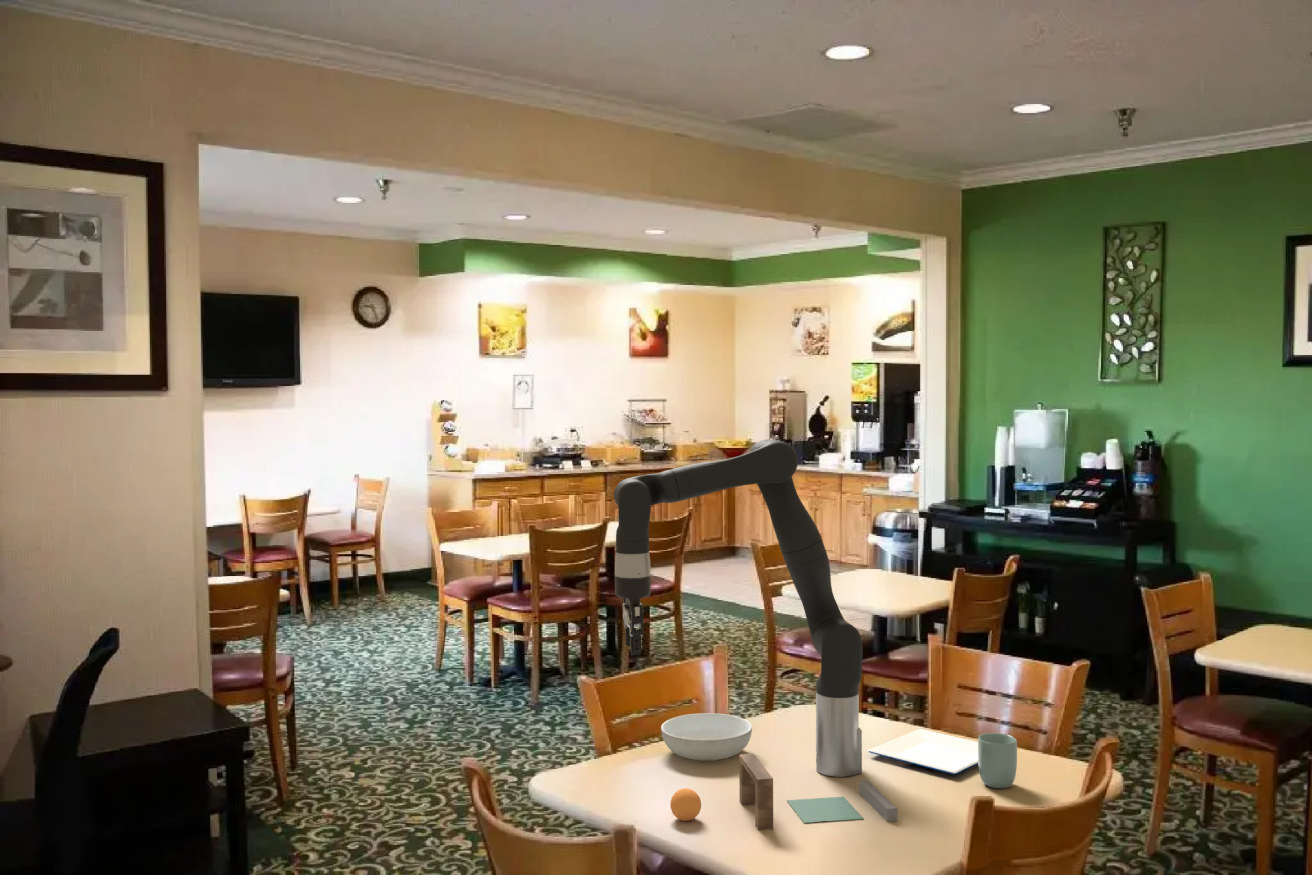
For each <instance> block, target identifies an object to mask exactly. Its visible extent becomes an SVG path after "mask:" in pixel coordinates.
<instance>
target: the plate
mask: <svg viewBox="0 0 1312 875" xmlns="http://www.w3.org/2000/svg"><path fill="white" fill-rule="evenodd" d="M867 752H868V753H870V754H874V755H879V756H881V757H885V758H888V759H893V760H897V761H901V762H905V763H908V764H913V765H916V766H920V767H924V768H926V769H927V768H928V769H932V770H935V771H939V772H943V773H947V774H950V775H951V774H952V775H957V774H959V773H960V772H963V771H965V770H967V769H969V768H971V767H973V766H975V765H978V741H975V740H970V739H965V738H961V737H958V736H952V735H948V734H943V733H939V732H935V731H931V730H928V729H922V728H919V729H916V730H913V731H910V732H907V733H906V734H903V735H901V736H898V737H896V738H894V739H891V740H888V741H886V742H883V743H882V744H879V745H876V746H874V747H871V748H869V749H867Z"/></svg>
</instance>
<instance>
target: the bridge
mask: <svg viewBox="0 0 1312 875" xmlns="http://www.w3.org/2000/svg"><path fill="white" fill-rule="evenodd" d="M738 754H739V753H738ZM738 758H739V759H738V760H739V761H738V762H739V764H738V765H739V770H738V771H739V772H738V773H739V778H738V780H739V781H738V782H739V803H740V805H741V804H742V805H741V806H749V805H748V804H754V805H755V806H754V808H755V809H754V813H755V816H754V817H755V818H754V819H755V823H754V825H755V828H756V827H757V828H756V830H757V831H762V830H773V829H774V778H773V776H772V775H771V774H770V773H769V771H768V770H767V768H766V767H765V766H764V765H763V763H762V762H761V761H760V760H759V758H758V757H757V756H756V755H755V753H742V754H739V756H738Z"/></svg>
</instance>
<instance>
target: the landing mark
mask: <svg viewBox="0 0 1312 875" xmlns="http://www.w3.org/2000/svg"><path fill="white" fill-rule="evenodd" d="M786 802H787V803H788V805H789V804H790V805H789V806H790V807H791V809H792V808H793V809H794V810H793V809H792V810H793V811H794V813H795V814H796V813H797V814H796V816H798V818H799V817H800V818H799V819H800V821H801V822H802V821H803V822H804V823H806V824H814V823H813V822H819V821H820V823H822V822H821V821H834V822H846V821H860V820H861V819H862V820H865V819H864V817H863V816H862V815H861V814H860V812H858V810H857V809H856V808H855V807H854V806H853V805H852V803H850V802H849V801H848V800H847V799H846V797H845V796H832V797H817V798H806V799H805V798H803V799H788V800H786ZM803 822H802V823H803ZM804 823H803V824H804Z"/></svg>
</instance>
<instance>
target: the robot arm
mask: <svg viewBox="0 0 1312 875" xmlns="http://www.w3.org/2000/svg"><path fill="white" fill-rule="evenodd" d="M798 457H799V456H798V454H797V451H795V449H794V448H793V447H792V446H791V445H790V444H788V443H786V442H784V441H781V440H778V439H777V440H776V439H762V440H760V441H757V442H756V443H754V444H753V446H752V447H751V448H750V451H749V452H747V453H745V454H741V455H738V456H734V457H731V458H726V459H720V460H714V461H705V462H699V463H698V462H697V463H693V464H688V465H682V466H680V467H674V468H671V469H666V470H664V471H660V472H657V473H649V474H643V475H642V474H641V475H638V476H636V475H635V476H632V477H628V478H625V479H623V480H621V481H620V482H618V483H617V484H616V486H615V487H614V491H613V500H614V502H615V504H616V505H617V508H618V509H617V510H618V512H617V513H618V527H617V528H616V531H615V559H614V594H615V596H616V597H617V598H622V601H623V602H622V622H623V626H624V629H625V632H624V633H625V635H624V636H625V637H624V638H625V639H624V640H625V643H624V644H625V645H626V647H630V654H631V655H633V656H635V655H637V656H638V655H639V656H640V655H641V654H642V637H643V636H644V633H645V630H644V623H645V622H644V610H645V609H644V605H642V603H641V599H642V598H648V597H649V596H650V595H651V585H652V583H651V582H652V580H651V575H652V574H651V558H650V534H649V533H650V532H649V529H650V528H649V525H650V521H651V520H650V518H651V512H652V510H651V509H652V506H654V505H659V504H672V503H678V502H683V501H685V500H689V499H693V498H694V499H695V498H698V497H702V496H705V495H709V494H712V493H716V492H720V491H723V490H727V489H731V488H737V487H742V486H750V485H757V487H758V489H759V491H760V494H761V496H762V497H763V499H764V502H765V504H766V507H767V509H768V513H769V517H770V520H771V523H772V528H773V530H774V533H775V537H776V539H777V542H778V546H779V549H780V553H781V554H782V557H783V558H782V559H783V561H784V563H785V566H786V568H787V571H788V573H789V575H790V578H791V580H792V583H793V585H794V588H795V590H796V593H797V594H798V596H799V600H801V601H800V602H801V604H802V607H803V610H804V613H805V618H806V622H807V627H808V630H809V634H810V638H811V642H812V645H813V647H814V649H815V651H816V652H817V653H818V654H819V655H820V657H821V658H820V662H821V663H820V675H819V677H818V678H816V681H815V726H816V727H815V736H816V738H815V746H816V747H815V753H816V756H815V764H816V766H815V769H816V771H817V772H818V773H820V774H822V775H824V776H828V777H829V776H830V777H835V778H836V777H837V778H838V777H840V778H842V777H844V778H845V777H850V776H855V775H857V774H862V773H863V730H862V729H861V727H860V721H859V717H860V716H859V714H860V711H859V710H860V709H859V707H860V706H859V705H860V704H859V703H860V702H859V697H860V696H859V695H860V694H859V692H860V691H859V689H860V684H861V682H862V676H863V650H864V649H863V641H862V636H861V633H860V632H859V630H858V629H857V627H855V626H854V625H852V624H851V623H850V622H847V621H846V620H845V618H844V616H843V614H842V612H841V611H840V608H839V606H838V604H837V601H836V599H835V594H834V593H833V588H832V578H831V566H830V559H829V556H828V553H827V550H826V546H825V544H824V542H823V539H822V535H821V533H820V531H819V529H818V527H817V524H816V523H815V522H814V520H813V518H812V516H811V515H810V513H809V511H808V510H807V509H806V507H805V505H804V504H803V502H802V500H801V499H800V497H799V494H798V493H797V490H796V487H795V483H794V479H793V475H794V474H795V473H796V471H797V469H798V466H799V459H798Z"/></svg>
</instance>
